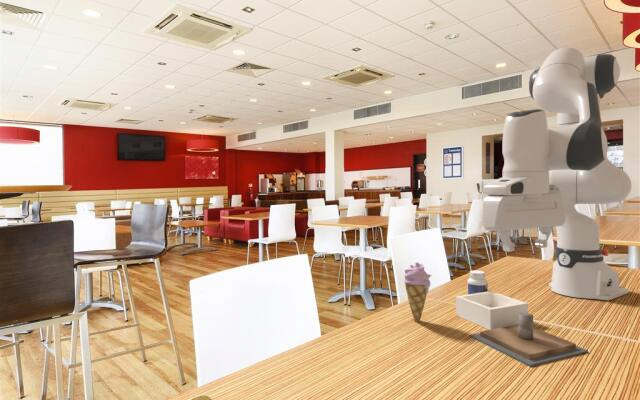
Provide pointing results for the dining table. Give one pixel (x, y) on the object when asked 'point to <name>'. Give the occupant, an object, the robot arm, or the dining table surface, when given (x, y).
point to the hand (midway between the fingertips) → (525, 249)
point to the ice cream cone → (417, 288)
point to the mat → (532, 361)
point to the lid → (527, 339)
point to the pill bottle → (477, 282)
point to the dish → (490, 309)
